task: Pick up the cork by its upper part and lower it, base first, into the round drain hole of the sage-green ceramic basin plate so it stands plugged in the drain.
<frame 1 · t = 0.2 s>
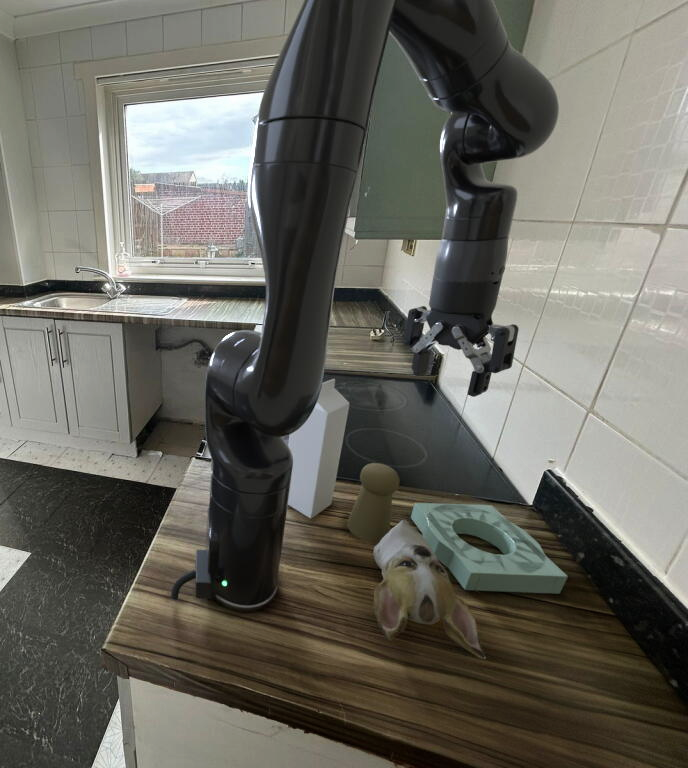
hand: (445, 384, 60), 22 cm above the counter, tool pointing down, fingers open, 8 cm apart
ceramic sculpture: (408, 606, 50), on the counter
milk: (305, 503, 69), on the counter
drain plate: (476, 551, 58), on the counter
cork: (367, 529, 63), on the counter
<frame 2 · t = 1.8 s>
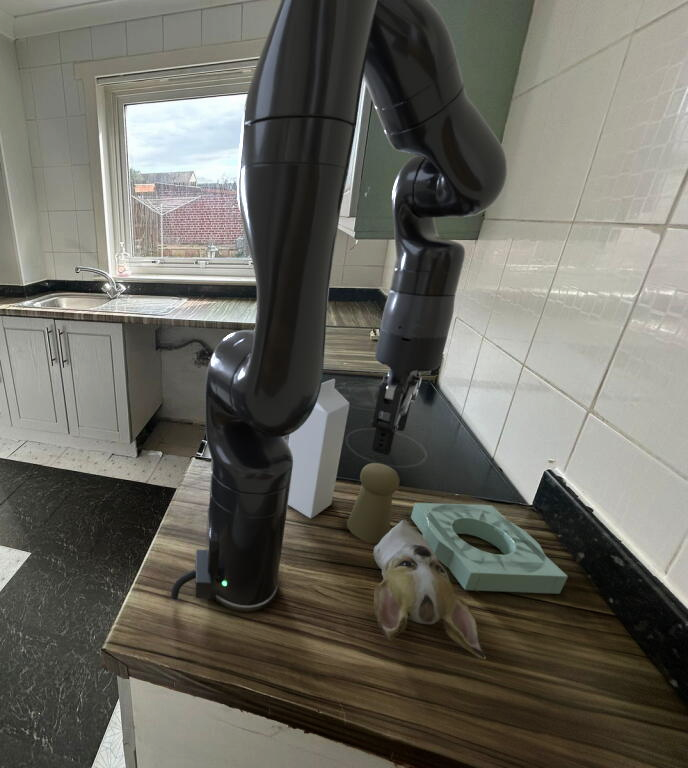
hand: (388, 439, 57), 16 cm above the counter, tool pointing down, fingers open, 8 cm apart
nothing on the counter moved.
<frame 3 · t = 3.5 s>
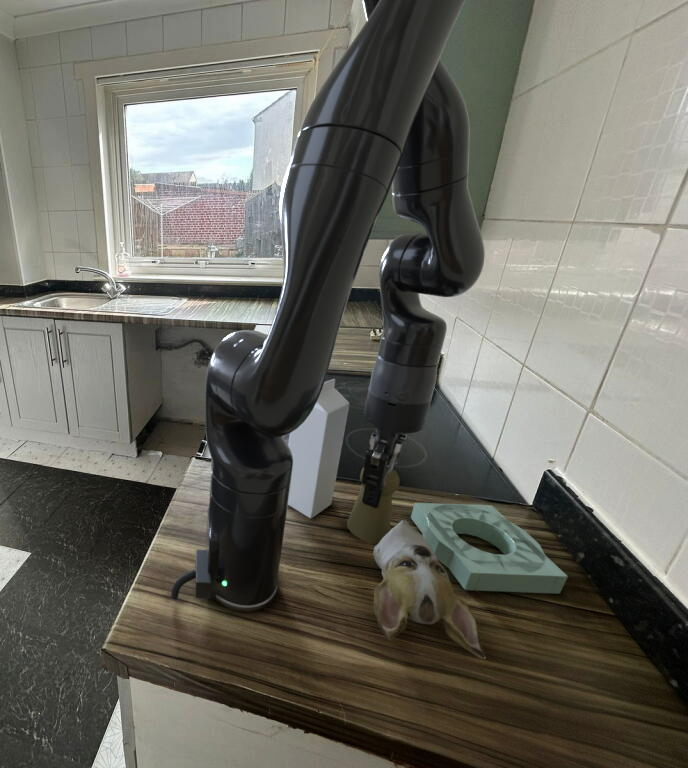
hand: (375, 494, 60), 6 cm above the counter, tool pointing down, fingers closed on cork, 5 cm apart
cork: (367, 529, 63), on the counter, touching gripper
everything else where it was.
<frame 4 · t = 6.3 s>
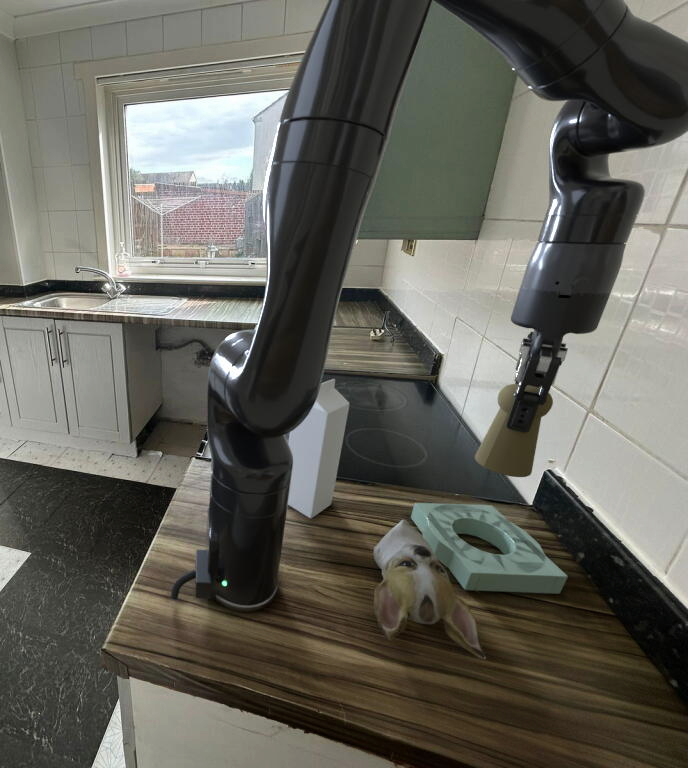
hand: (517, 420, 51), 21 cm above the counter, tool pointing down, fingers closed on cork, 5 cm apart
cork: (501, 465, 53), point 14 cm above the counter, touching gripper
everything else where it was.
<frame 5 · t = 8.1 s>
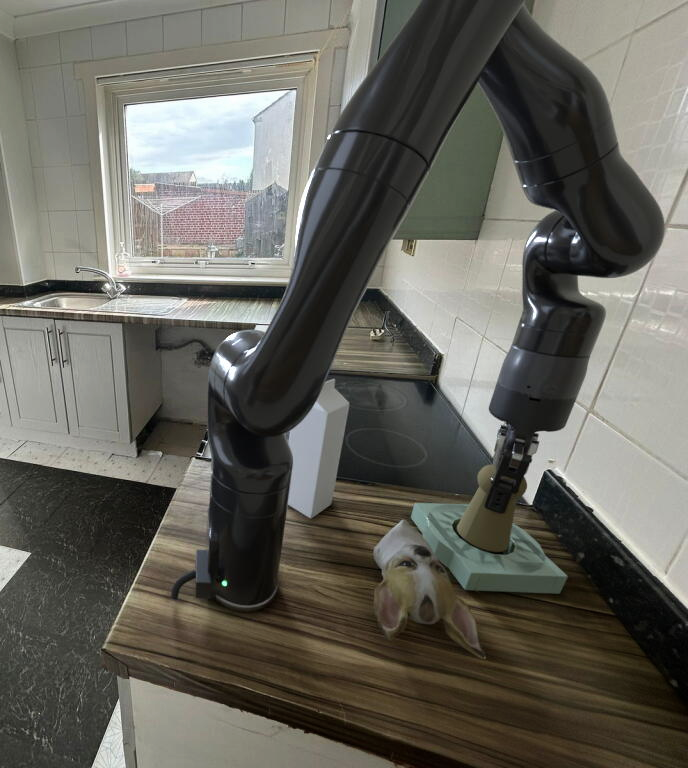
hand: (495, 498, 55), 9 cm above the counter, tool pointing down, fingers closed on cork, 5 cm apart
cork: (481, 537, 57), point 3 cm above the counter, touching gripper
everything else where it was.
when the fingers open (6 cm above the counter, at t = 9.4 s): cork stays where it is, resting in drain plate.
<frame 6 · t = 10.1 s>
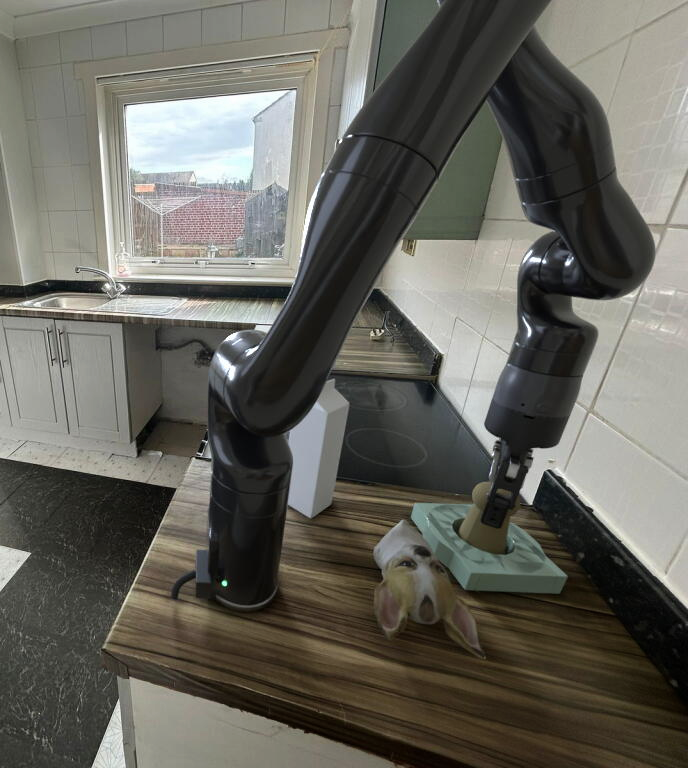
hand: (492, 508, 56), 8 cm above the counter, tool pointing down, fingers open, 8 cm apart
cork: (476, 552, 58), resting in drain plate
everything else where it was.
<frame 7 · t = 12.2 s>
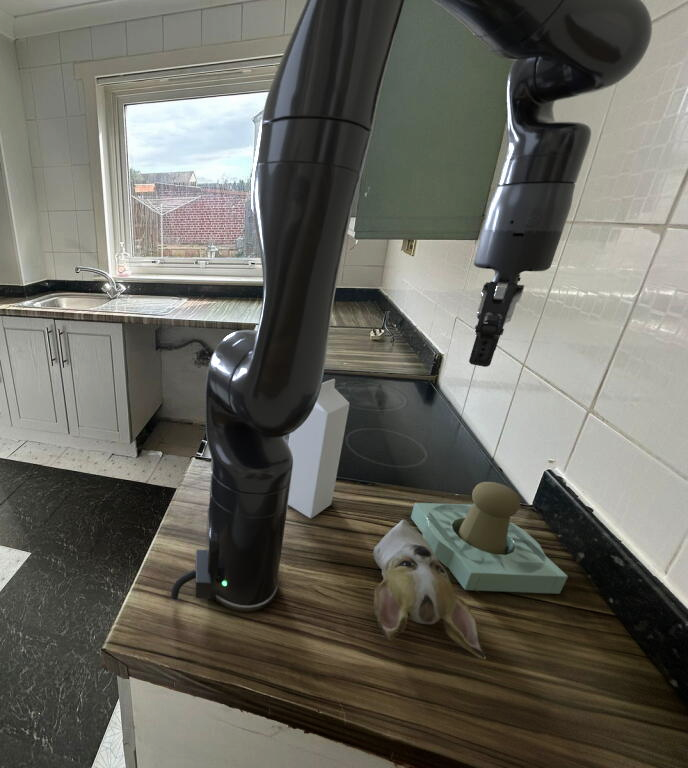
hand: (482, 357, 54), 28 cm above the counter, tool pointing down, fingers open, 8 cm apart
nothing on the counter moved.
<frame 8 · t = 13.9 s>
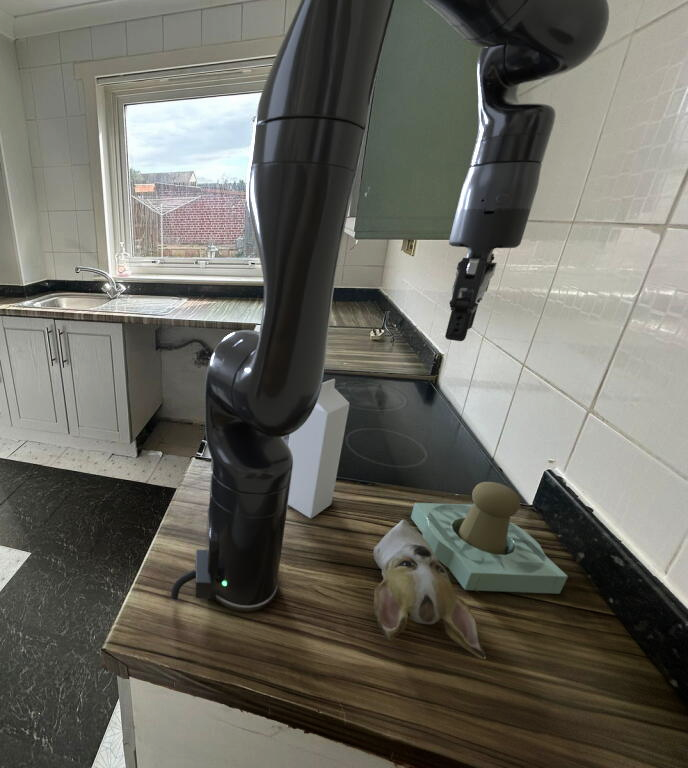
hand: (458, 333, 56), 30 cm above the counter, tool pointing down, fingers open, 8 cm apart
nothing on the counter moved.
at the end: cork 0.0 cm from the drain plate (horizontally); cork resting in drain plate; cork tilted 0° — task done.
